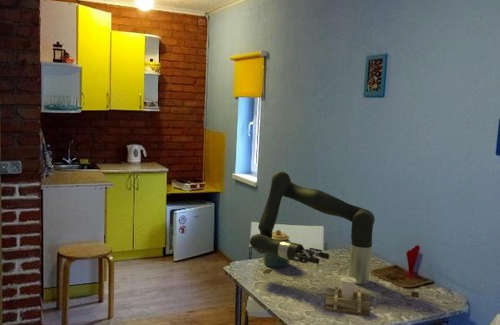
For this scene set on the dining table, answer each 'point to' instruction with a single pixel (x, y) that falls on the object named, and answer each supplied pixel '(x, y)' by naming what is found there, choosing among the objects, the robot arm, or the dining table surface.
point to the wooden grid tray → (347, 302)
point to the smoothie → (347, 286)
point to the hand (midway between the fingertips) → (323, 258)
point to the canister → (276, 260)
